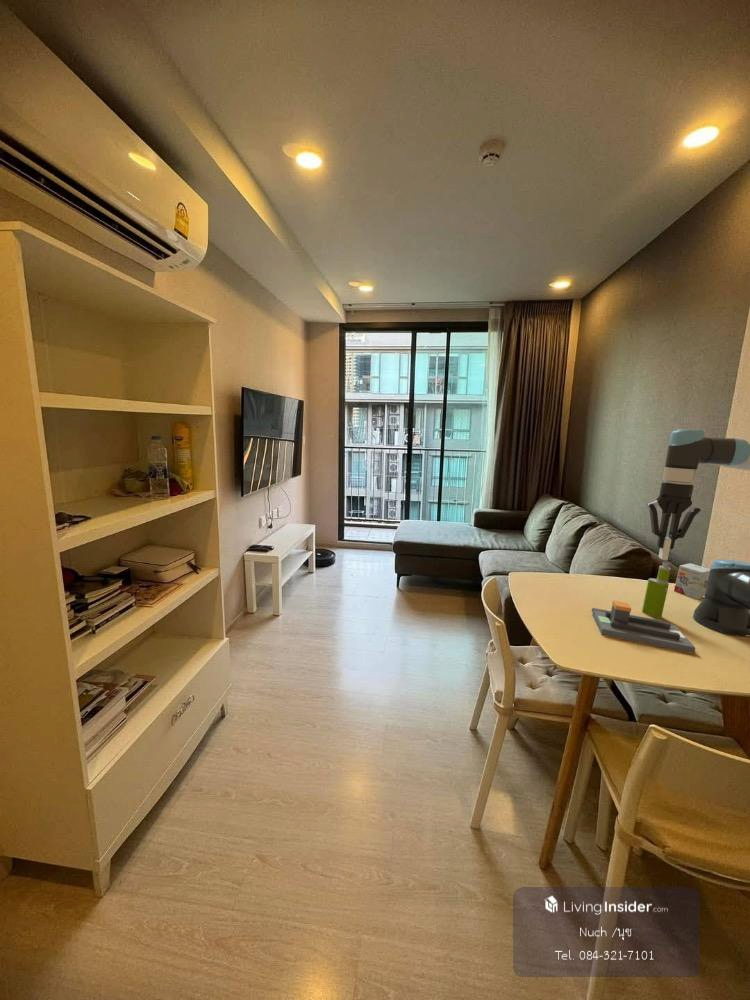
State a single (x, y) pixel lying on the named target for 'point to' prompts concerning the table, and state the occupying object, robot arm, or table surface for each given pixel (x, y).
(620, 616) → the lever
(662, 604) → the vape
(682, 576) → the ink box
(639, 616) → the grey twin rods
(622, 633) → the panel
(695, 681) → the table surface
